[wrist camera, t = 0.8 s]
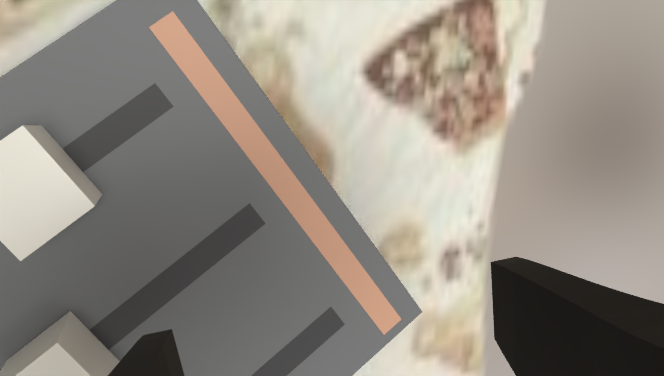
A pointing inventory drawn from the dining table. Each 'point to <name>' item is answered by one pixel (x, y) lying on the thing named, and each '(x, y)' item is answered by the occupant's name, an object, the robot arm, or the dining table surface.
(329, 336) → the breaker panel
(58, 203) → the handle
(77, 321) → the handle middle
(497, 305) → the robot arm
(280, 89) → the dining table surface
